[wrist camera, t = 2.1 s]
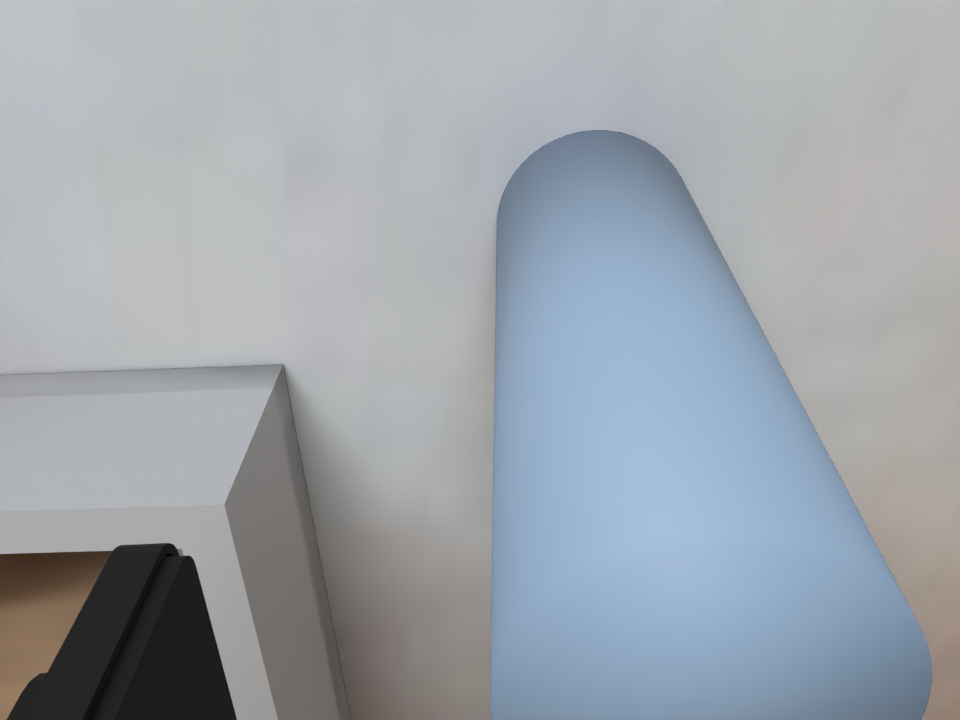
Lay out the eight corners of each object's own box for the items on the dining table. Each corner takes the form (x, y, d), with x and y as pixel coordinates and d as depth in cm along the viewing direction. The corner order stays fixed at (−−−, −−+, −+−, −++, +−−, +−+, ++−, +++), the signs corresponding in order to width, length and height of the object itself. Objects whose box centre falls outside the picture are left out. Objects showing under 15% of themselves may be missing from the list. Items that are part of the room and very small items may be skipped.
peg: (696, 124, 18) (976, 532, 7) (684, 308, 20) (890, 834, 9) (492, 135, 18) (477, 547, 7) (500, 316, 20) (500, 839, 9)
